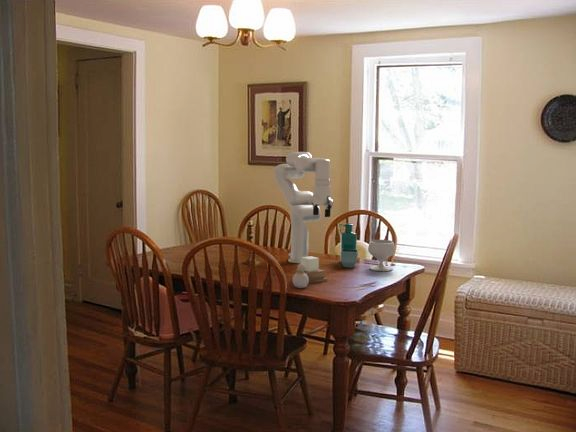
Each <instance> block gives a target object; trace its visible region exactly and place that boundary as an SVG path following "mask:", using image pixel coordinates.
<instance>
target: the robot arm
mask: <svg viewBox="0 0 576 432" xmlns="http://www.w3.org/2000/svg"><path fill="white" fill-rule="evenodd" d="M285 161H286V163H281V164H278V165H276V166H275V167H274V169H273V176H274V180H275V183H276V184H277V186H278V187H279V189H280V190H281V192H282V194H283V197H284V199H285V201H286V204H287V205H288V206H289V207H290V209H289V210H290V211H289V215H290V216H289V218H290V223H291V224H290V227H291V228H290V229H291V234H290V235H291V236H290V237H291V241H290V246H291V247H290V250H291V251H290V252H288V256H290V257H289V258H288V259H287V260H288V262H289V263H292V264H300V262H301V257H308V256H309V231H310V230H309V228H308V226H307V224H306V223H308V222H309V223H310V222H311V223H312V222H318V221H319V220H320V219H321V217H322V211H321V207H320V206H324V217H325V218H330V217H331V210H332V207H333V205H334V199H332V198H331V197H332V196H331V195H332V194H331V186H330V182H331V180H330V179H331V178H330V177H331V175H330V174H331V160H330V159H328V158H322V157H312V154H311V153H310V152H307V151H291V152H289V153H287V155H286V158H285ZM306 173H314V186H313V191H312V192H311V191H310V190H299V189H298V187H297V185H296V184H295V182H293V181H292V180H290V179H302V178H303V177H305V174H306Z"/></svg>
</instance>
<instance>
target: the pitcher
mask: <svg viewBox="0 0 576 432" xmlns="http://www.w3.org/2000/svg"><path fill="white" fill-rule="evenodd" d="M341 226H343V227H345V230H343V231H342V230H341ZM353 226H355V224H354V223H349V222H348V223H344V224H343V223H342V222H338V229H339V231H340V232H339V233H340V248H339V249H340V253H339V254H340V256H339V258H340V259H339V261H340V264H342V261H341V250H342V249H356V250H358V248H357V247H358V246H357V245H358V244H357V243H358V241H357V240H358V236H357V233H356V232H355V231H354V230H353Z"/></svg>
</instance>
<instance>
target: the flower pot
mask: <svg viewBox="0 0 576 432" xmlns="http://www.w3.org/2000/svg"><path fill="white" fill-rule="evenodd" d="M358 256H359V249H357V250H356V249H342V250H341V261H342V263H341V264H342V266H343V268H349V269H350V268H354V267H355V266H356V263H357V260H358ZM341 261H340V262H341Z"/></svg>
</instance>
